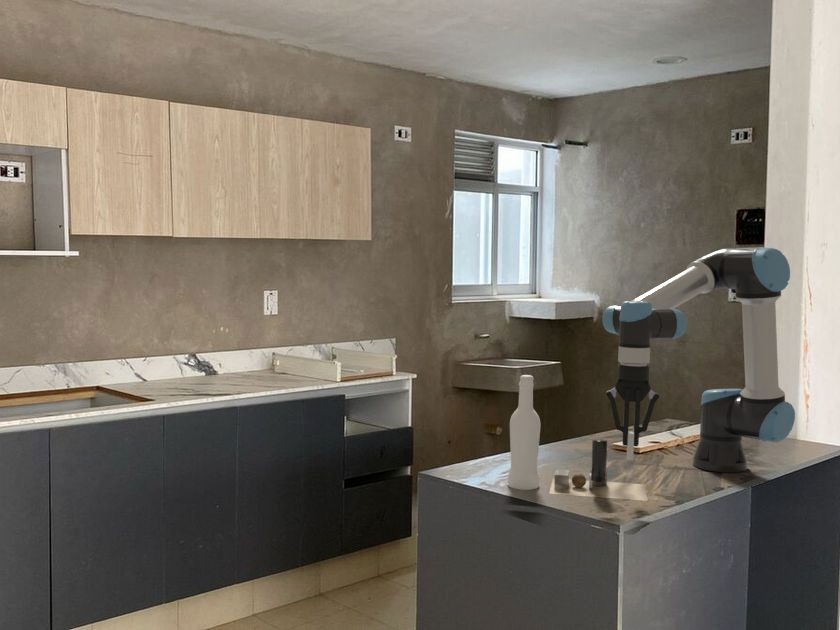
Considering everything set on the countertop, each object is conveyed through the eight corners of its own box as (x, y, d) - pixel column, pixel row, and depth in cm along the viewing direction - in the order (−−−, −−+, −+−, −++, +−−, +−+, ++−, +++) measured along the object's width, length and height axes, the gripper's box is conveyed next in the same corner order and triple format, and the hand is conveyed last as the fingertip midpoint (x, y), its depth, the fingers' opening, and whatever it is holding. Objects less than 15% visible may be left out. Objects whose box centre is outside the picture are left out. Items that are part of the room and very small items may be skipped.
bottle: (505, 485, 226) (508, 373, 224) (535, 485, 226) (538, 373, 224) (510, 494, 217) (514, 377, 216) (542, 494, 218) (545, 377, 216)
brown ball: (585, 486, 222) (586, 472, 222) (585, 489, 219) (586, 475, 218) (571, 485, 223) (572, 471, 223) (571, 488, 219) (571, 474, 219)
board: (644, 488, 225) (645, 470, 225) (647, 505, 210) (648, 486, 209) (552, 482, 230) (553, 464, 230) (549, 498, 215) (549, 479, 214)
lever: (605, 481, 226) (606, 431, 225) (605, 496, 211) (607, 442, 210) (589, 480, 227) (591, 430, 226) (588, 495, 212) (590, 441, 211)
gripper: (660, 363, 212) (656, 457, 214) (606, 361, 215) (602, 453, 216) (662, 367, 205) (658, 464, 206) (606, 364, 207) (602, 460, 209)
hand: (629, 458), depth 211 cm, fingers closed
